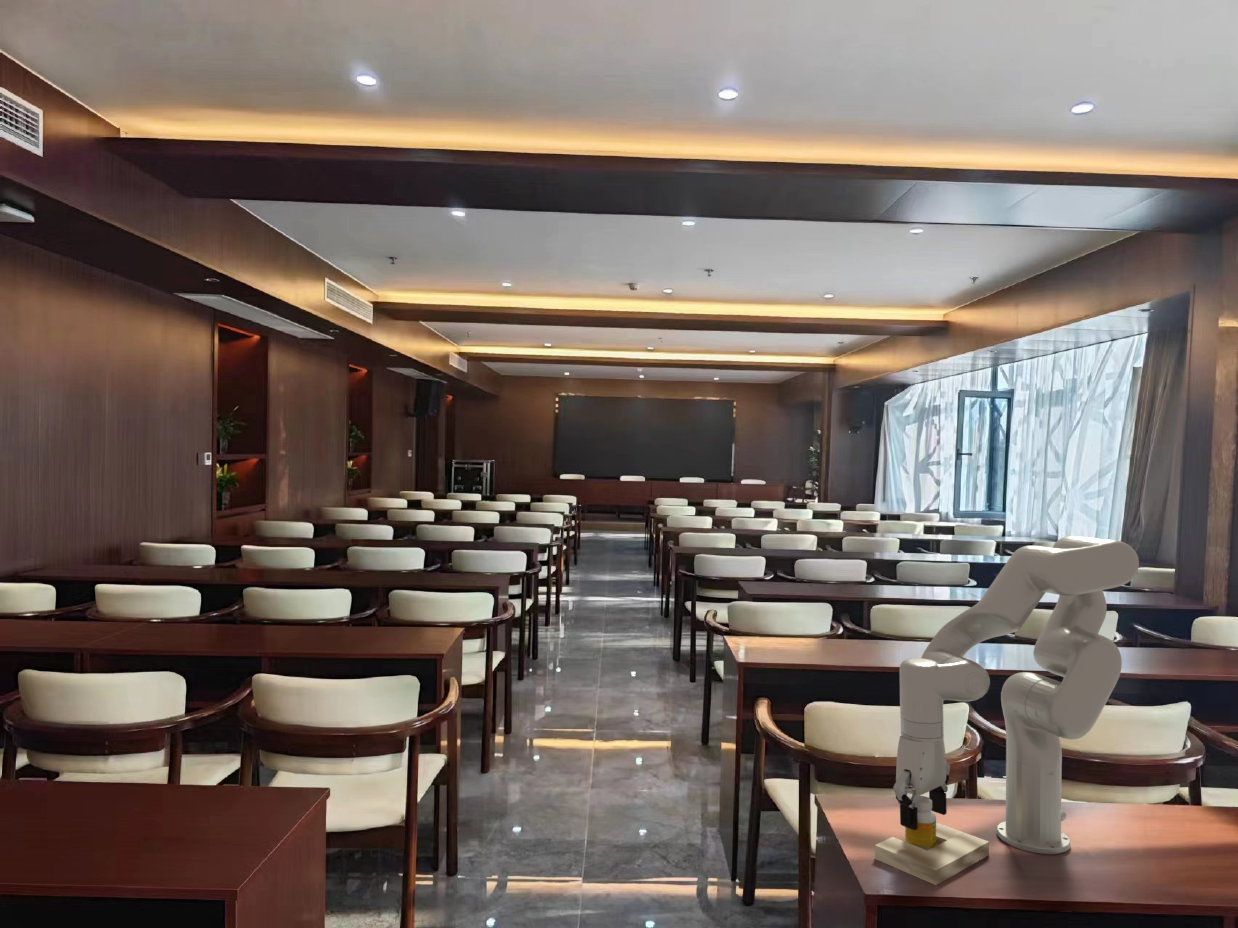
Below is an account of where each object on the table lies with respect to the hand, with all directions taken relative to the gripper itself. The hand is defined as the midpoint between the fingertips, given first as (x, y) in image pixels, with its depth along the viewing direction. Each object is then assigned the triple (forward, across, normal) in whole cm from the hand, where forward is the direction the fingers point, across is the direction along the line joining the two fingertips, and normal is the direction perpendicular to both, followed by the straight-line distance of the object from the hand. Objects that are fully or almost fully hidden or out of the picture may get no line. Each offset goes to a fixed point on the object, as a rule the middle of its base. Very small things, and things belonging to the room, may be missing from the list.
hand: (923, 819), depth 153 cm
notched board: (+6, +1, +2) cm, 6 cm away
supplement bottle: (+6, +1, 0) cm, 6 cm away
